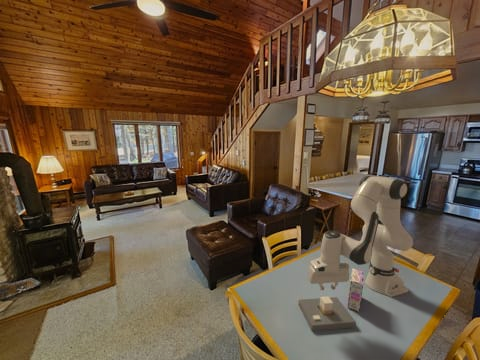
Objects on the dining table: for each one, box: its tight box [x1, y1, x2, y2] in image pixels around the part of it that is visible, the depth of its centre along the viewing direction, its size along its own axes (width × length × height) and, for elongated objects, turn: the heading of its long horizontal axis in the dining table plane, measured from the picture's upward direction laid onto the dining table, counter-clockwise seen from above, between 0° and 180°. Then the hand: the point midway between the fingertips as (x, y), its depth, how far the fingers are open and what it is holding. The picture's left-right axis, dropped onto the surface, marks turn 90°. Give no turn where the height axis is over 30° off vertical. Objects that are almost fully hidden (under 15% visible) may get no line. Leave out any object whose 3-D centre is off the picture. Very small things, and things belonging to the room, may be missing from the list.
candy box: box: [347, 267, 364, 313], centre depth 112 cm, size 14×6×16 cm, turn 148°
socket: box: [298, 296, 357, 332], centre depth 104 cm, size 22×16×4 cm
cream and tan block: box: [319, 296, 333, 315], centre depth 103 cm, size 4×4×9 cm
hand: (327, 289), depth 101 cm, fingers open, 5 cm apart
